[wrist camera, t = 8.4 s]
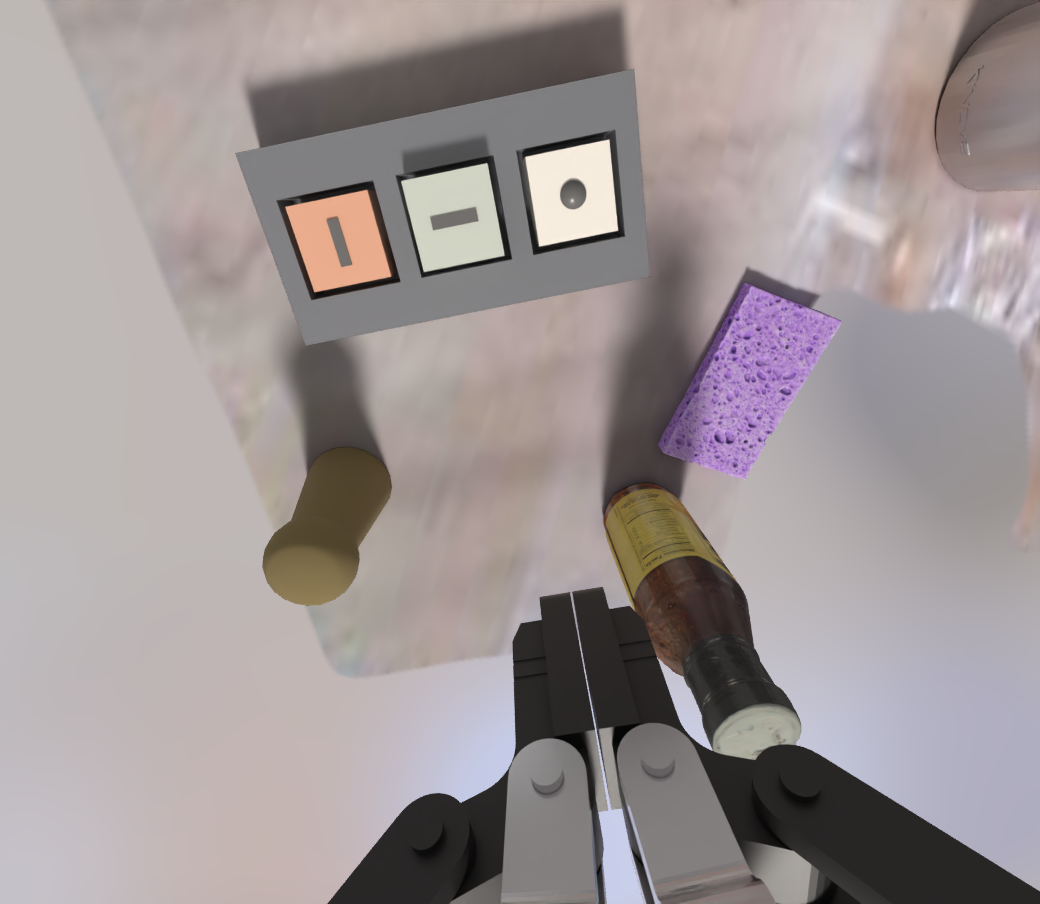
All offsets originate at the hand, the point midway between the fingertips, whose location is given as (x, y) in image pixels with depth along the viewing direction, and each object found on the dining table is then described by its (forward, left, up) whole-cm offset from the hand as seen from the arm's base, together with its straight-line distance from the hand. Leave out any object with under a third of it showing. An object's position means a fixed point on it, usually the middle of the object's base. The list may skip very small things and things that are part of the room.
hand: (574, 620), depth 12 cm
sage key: (+2, -9, -23) cm, 24 cm away
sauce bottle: (-7, +14, -26) cm, 30 cm away
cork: (+14, +7, -26) cm, 30 cm away
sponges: (-15, +5, -26) cm, 31 cm away
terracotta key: (+8, -9, -24) cm, 27 cm away
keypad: (+2, -9, -25) cm, 27 cm away
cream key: (-4, -9, -24) cm, 26 cm away
